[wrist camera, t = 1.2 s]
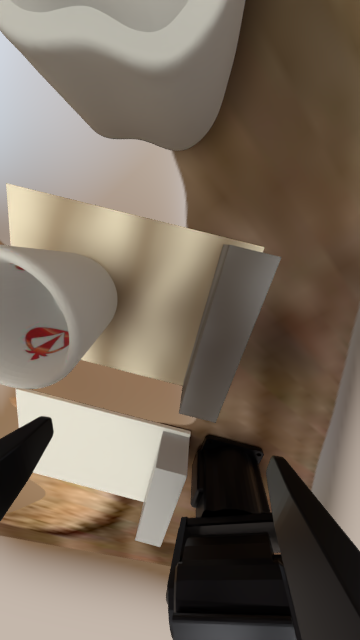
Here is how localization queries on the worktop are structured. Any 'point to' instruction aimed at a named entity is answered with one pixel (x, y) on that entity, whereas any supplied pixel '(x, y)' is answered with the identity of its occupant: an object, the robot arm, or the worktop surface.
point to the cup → (49, 313)
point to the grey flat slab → (113, 455)
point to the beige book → (158, 291)
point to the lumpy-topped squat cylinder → (132, 61)
